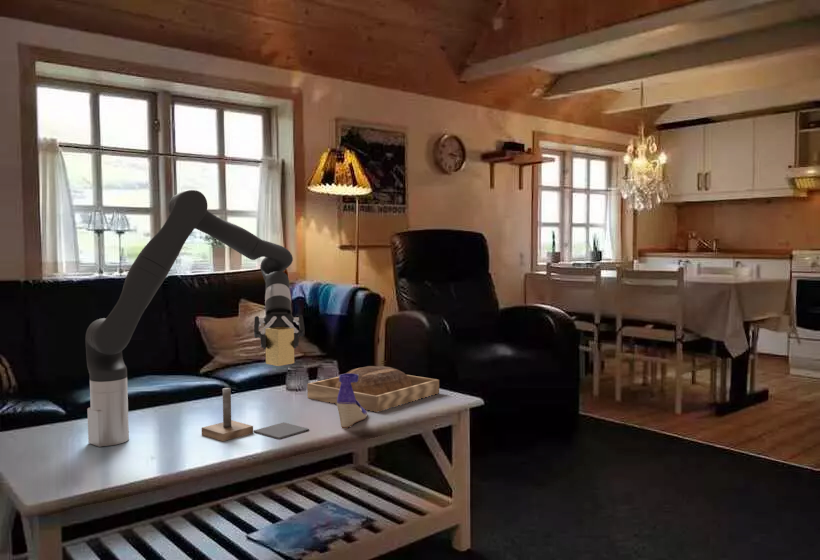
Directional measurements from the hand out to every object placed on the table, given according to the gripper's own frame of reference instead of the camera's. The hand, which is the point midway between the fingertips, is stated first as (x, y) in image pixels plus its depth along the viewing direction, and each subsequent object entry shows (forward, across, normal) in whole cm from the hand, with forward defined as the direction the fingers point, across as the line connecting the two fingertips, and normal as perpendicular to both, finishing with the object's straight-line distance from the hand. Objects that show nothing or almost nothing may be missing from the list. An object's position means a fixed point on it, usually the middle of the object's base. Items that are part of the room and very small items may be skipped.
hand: (280, 347), depth 187 cm
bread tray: (-10, +33, +44) cm, 56 cm away
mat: (+16, 0, +18) cm, 24 cm away
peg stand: (+15, -15, +19) cm, 28 cm away
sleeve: (+3, 0, +4) cm, 5 cm away
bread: (-12, +33, +47) cm, 59 cm away
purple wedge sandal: (+11, +21, +23) cm, 33 cm away
